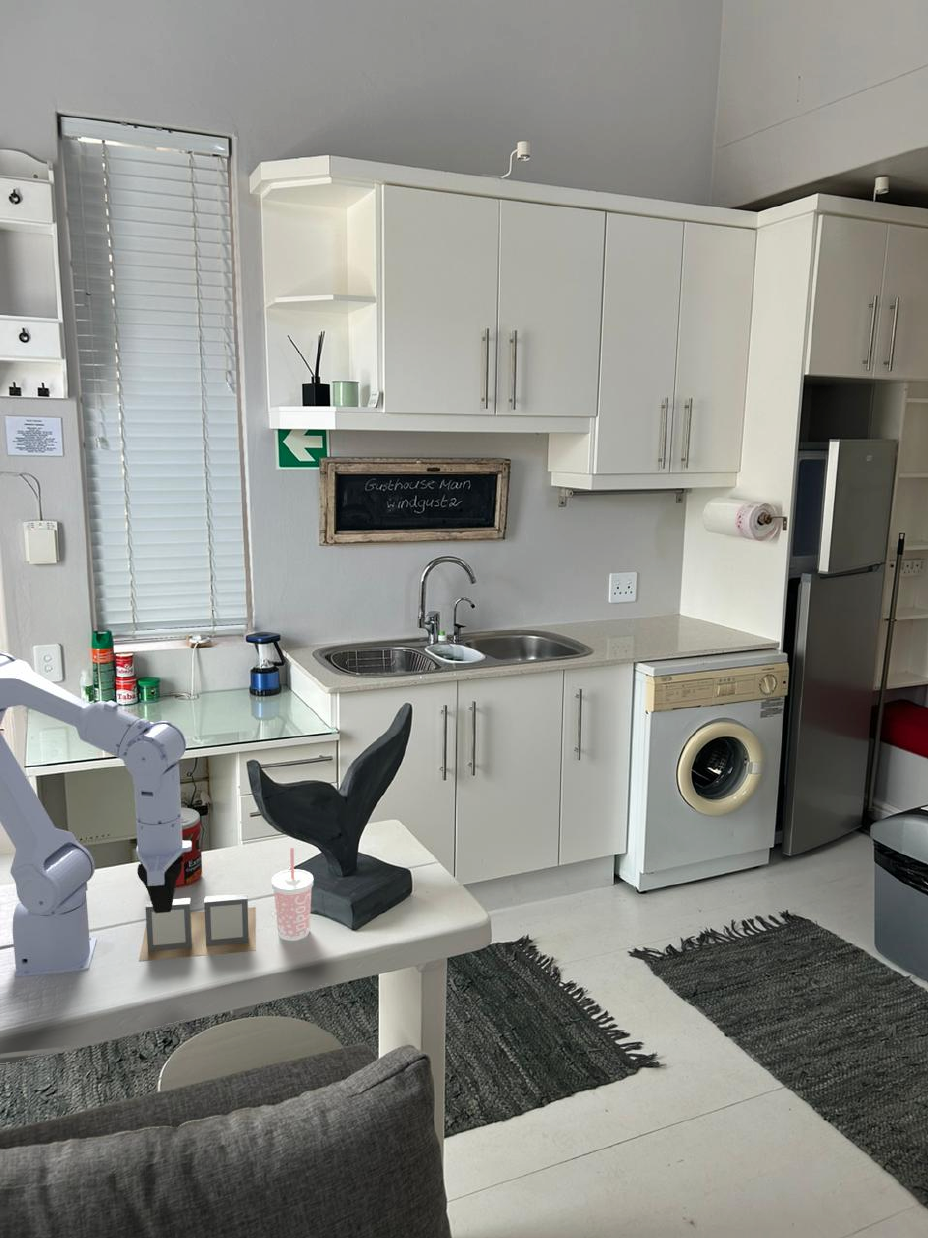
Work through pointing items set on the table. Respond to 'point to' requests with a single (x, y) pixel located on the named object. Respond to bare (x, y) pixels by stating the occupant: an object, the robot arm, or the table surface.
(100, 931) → the table surface
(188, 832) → the canned food
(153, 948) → the grey framed square tile
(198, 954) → the cork mat
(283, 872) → the beverage cup
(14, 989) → the table surface
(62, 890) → the robot arm
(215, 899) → the gray framed tile
